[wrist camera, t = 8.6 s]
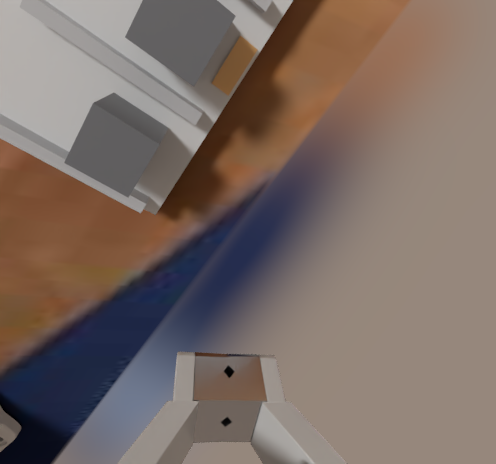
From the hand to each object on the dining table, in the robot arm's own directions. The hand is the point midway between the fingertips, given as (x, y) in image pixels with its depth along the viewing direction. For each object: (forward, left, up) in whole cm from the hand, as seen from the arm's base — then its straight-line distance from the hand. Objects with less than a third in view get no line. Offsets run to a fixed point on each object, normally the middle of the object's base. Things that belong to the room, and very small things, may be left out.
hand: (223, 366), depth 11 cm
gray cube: (0, +6, -15) cm, 16 cm away
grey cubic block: (+7, +6, -15) cm, 18 cm away
